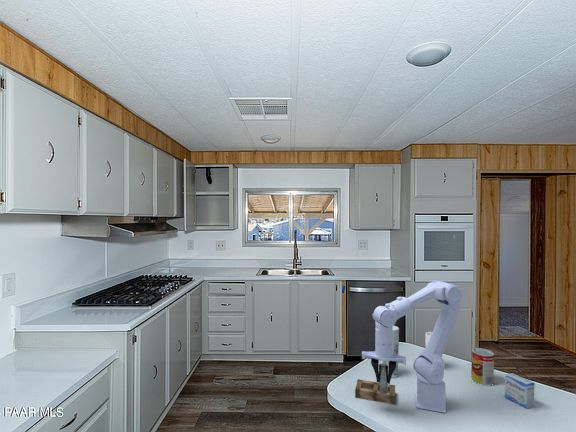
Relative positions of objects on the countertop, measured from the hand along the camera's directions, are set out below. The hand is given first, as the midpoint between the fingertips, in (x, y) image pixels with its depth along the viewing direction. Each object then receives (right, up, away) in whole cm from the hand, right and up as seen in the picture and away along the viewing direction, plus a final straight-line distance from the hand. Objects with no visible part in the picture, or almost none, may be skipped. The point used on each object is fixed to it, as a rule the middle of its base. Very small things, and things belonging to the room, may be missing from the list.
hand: (383, 381), depth 114 cm
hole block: (0, -10, +10) cm, 14 cm away
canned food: (+47, -11, +22) cm, 53 cm away
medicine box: (+51, -11, +6) cm, 53 cm away
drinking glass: (+32, -11, +33) cm, 47 cm away
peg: (0, -3, 0) cm, 3 cm away
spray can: (+10, -10, +26) cm, 30 cm away
